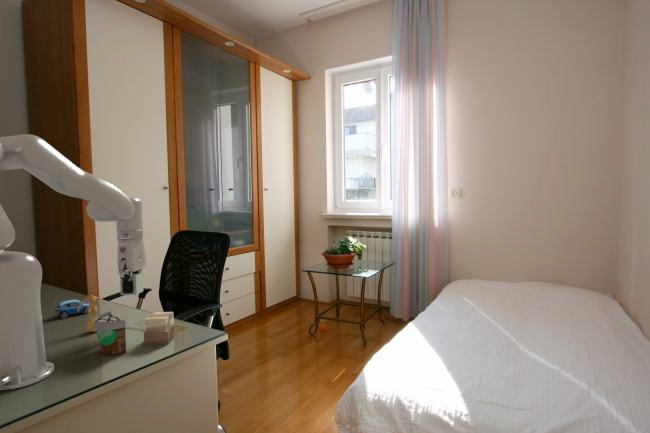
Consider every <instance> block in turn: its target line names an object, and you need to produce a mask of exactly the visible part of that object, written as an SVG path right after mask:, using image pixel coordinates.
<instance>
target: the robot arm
mask: <svg viewBox="0 0 650 433" xmlns="http://www.w3.org/2000/svg"><path fill="white" fill-rule="evenodd" d="M7 170H8V171H9V170H25V171H27V172H28V173H30V174H31V175H32V176H34V177H36V178H37V179H38V180H39V181H41V182H43V183H44V184H45V185H47V186H48V187H49V188H51V189H52V190H53V191H55V192H57V193H58V194H62V195H65V196H68V197H71V198H77V199H79V200H85V201H87V202H88V204H87V206H86V209H85V210H86V211H85V212H86V214H87V215H88V218H90V219H92V220H93V221H97V222H100V223H102V222H103V223H105V222H107V223H109V222H110V223H111V222H116V241H117V242H118V244H117V256H116V257H117V258H116V259H117V270H118V272H117V274H118V275H119V278H120V277H121V281H122V292H123V293H124V294H125V293H133V281H131V280H132V274H133V273H142V271H143V270H142V269H144V268H145V267H146V252H145V244H144V237H143V236H144V232H143V231H144V230H143V205H142V200H141V199H140V198H137V197H128V195H127V194H125V193H124V192H123V191H121V189H119V188H118V187H116V186H115V185H114V184H112V183H110V182H108V181H107V180H105V179H102V178H100V177H98V176H96V175H94V174H92V173H90V172H87V171H85V170H83V169H82V168H80V167H78V166H77V165H76V164H75V163H73V162H72V161H71V160H70V159H68V158H67V157H66V156H65V155H63V154H62V153H61V152H60V151H58V150H57V149H55V147H53V146H52V145H51V144H49V143H48V142H47V141H46V140H44V138H41V137H39V136H37V135H34V134H29V133H27V134H16V135H8V136H0V171H7ZM15 239H16V230H15V228H14V225H13V224H12V222H11V220H10V219H9V217H8V215H7V213H6V212H5V209H4V208H3V206H2V204H1V203H0V391H9V390H15V389H16V390H17V389H19V388H23V387H27V386H29V385H33V384H35V383H38V382H40V381H42V380H44V379H46V378H48V377H49V376H51V375H52V374H53V372H54V371H55V363H53V362H51V361H47V358H46V347H45V334H44V324H43V323H44V322H43V313H42V304H41V290H42V289H41V287H42V280H43V268H42V264H41V263H40V261H39V260H38V259H37V258H36V257H35V256H34V255H32V254H29V253H26V252H21V251H11V250H9V251H8V250H5V249H7V248H9V247H10V246H11V245H12V244H13V242H14V241H15ZM127 274H129V276H128V275H127Z"/></svg>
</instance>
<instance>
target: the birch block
mask: <svg viewBox="0 0 650 433" xmlns="http://www.w3.org/2000/svg"><path fill="white" fill-rule="evenodd" d="M144 322H145V323H144V325H145V326H144V327H145V332H146V333H148V332H167V331H168V330H169V329H170V328H171V327H172V326H173V325H174V324H175V319H174V312H173V311H163V312H162V311H161V312H158V311H157V312H152V313H151V314H150V315H149V316H147V317H146V318H145V319H144Z"/></svg>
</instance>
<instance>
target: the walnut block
mask: <svg viewBox="0 0 650 433" xmlns="http://www.w3.org/2000/svg"><path fill="white" fill-rule="evenodd" d="M177 335H178V330H177V323H174V325H173V326H172V327H171V328H170V329H169V330H168V331H167V332H148V333H146V331H145V332H143V341H144V346H160V345H161V346H162V345H164V346H165V345H170V344H171V343H172V342H173V340H174V339H175V338H176V337H177Z"/></svg>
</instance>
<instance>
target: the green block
mask: <svg viewBox="0 0 650 433" xmlns="http://www.w3.org/2000/svg"><path fill="white" fill-rule="evenodd" d="M126 274H127V275H128V276H129V273H126ZM131 281H133V293H125V294H124V293H123V292H122V281H121V277H120V276H119V284H120V285H119V286H120V296H137V295H139V294H141V293H143V292H144V273H142V272H141V273H133V274H132V280H131Z"/></svg>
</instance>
